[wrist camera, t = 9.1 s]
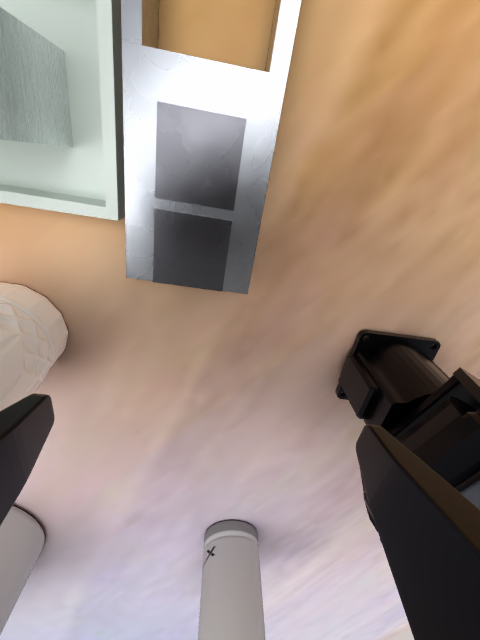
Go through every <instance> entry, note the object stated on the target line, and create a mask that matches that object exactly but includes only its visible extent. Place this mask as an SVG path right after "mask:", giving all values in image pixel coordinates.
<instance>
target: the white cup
mask: <svg viewBox="0 0 480 640" xmlns="http://www.w3.org/2000/svg"><path fill="white" fill-rule="evenodd" d="M67 337H68V330H67V327H66V325H65V322H64V319H63V317H62V314H61V313H60V312H59V311H58V310H57V309H56V308H55V307H54V305H53V304H52V303H51V302H50V301H49V300H48V299H47V298H46V297H44V296H43V295H41V294H39V293H37V292H35V291H33V290H31V289H29V288H27V287H25V286H23V285H17V284H10V283H3V282H0V411H1V410H3V409H5V408H7V407H8V406H10V405H12V404H14V403H16V402H18V401H19V400H21V399H23V398H25V397H27V396H28V395H31V394H33V393H34V392H35V390H36V389H37V388H38V387H39V385H40V384H41V382H42V381H43V380H44V378H45V376H46V374H47V372H48V370H49V369H50V368H51V366H52V365H53V364H54V363H55V361H56V360H57V359H58V358H59V356H60V355H61V354H62V353H63V351H64V350H65V348H66V343H67Z"/></svg>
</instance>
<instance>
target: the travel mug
mask: <svg viewBox="0 0 480 640" xmlns="http://www.w3.org/2000/svg"><path fill="white" fill-rule="evenodd" d="M198 640H265V627H264V614H263V601H262V588H261V574H260V561H259V550H258V535H257V531H256V530H255V528H254V527H253V526H251V525H250V524H248V523H246V522H242V521H237V520H228V521H222V522H219V523H216V524H214V525H212V526H211V527H210V528H209V529H208V530H207V531H206V533H205V539H204V555H203V570H202V585H201V600H200V616H199V631H198Z"/></svg>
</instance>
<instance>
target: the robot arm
mask: <svg viewBox="0 0 480 640" xmlns="http://www.w3.org/2000/svg"><path fill="white" fill-rule="evenodd" d="M365 336H367V338H365V339H363V338H364V337H365ZM433 344H434V345H433ZM432 345H433V346H432ZM431 346H432V347H431ZM439 348H440V343H439V342H438V341H437V340H436V339H431V338H423V337H416V336H408V335H400V334H392V333H384V332H377V331H369V330H364V331H361V332H360V333H359V334H358V336H357V339H356V341H355V344H354V346H353V349H352V351H351V354H350V355H349V356H348V358H347V360H346V363H345V365H344V368H343V370H342V373H341V375H340V378H339V384H338V387H337V389H336V394H337V397H338V398H340V399H347V400H349V402H350V404H351V406H352V408H353V409H354V411H355V413H356V415H357V417H358V418H359V419H363V420H364V422H365V424H366V426H364V428H363V430H362V432H361V434H360V436H359V438H358V440H357V443H356V453H357V457H358V461H359V465H360V471H361V478H362V484H363V491H364V500H365V504H366V508H367V512H368V514H369V518H370V520H371V522H372V523H373V525H374V527H375V529H376V530H377V532H378V533H379V536H380V540H381V543H382V545H383V548H384V551H385V554H386V557H387V560H388V563H389V566H390V569H391V571H392V574H393V577H394V580H395V583H396V586H397V589H398V592H399V595H400V598H401V601H402V604H403V607H404V610H405V613H406V616H407V619H408V622H409V625H410V628H411V631H412V634H413V636H414V640H480V380H479V379H478V378H476V377H474V376H473V375H471V374H470V373H468V372H467V371H465V370H464V369H462V368H461V367H460V368H459V369H457V370H456V371H455V372H454V373H453V374H454V375H453V376H452V377H451V378H449V377H448V376H447V375H446V374H445V373H444V372H443V371H442V370H441V369H440V368H439V367H438V366H437V365H436V364H435V363H434V362H433V359H434V357H435V355H436V354H437V352H438V350H439ZM342 392H344V393H342ZM53 423H54V412H53V406H52V401H51V397H50V396H49V395H46V394H31V395H28V396H27V397H25V398H23V399H21V400H19V401H18V402H16V403H14V404H12V405H10V406H8V407H7V408H5V409H3V410H1V411H0V526H1V524H2V523H3V521H4V519H5V517H6V516H7V514H8V512H9V511H10V509H11V507H12V506H13V504H14V502H15V501H16V499H17V497H18V495H19V494H20V492H21V490H22V489H23V487H24V485H25V483H26V481H27V479H28V477H29V475H30V473H31V471H32V469H33V467H34V465H35V463H36V460H37V458H38V456H39V454H40V452H41V450H42V448H43V445H44V443H45V441H46V439H47V437H48V435H49V432H50V430H51V428H52V426H53Z"/></svg>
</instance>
